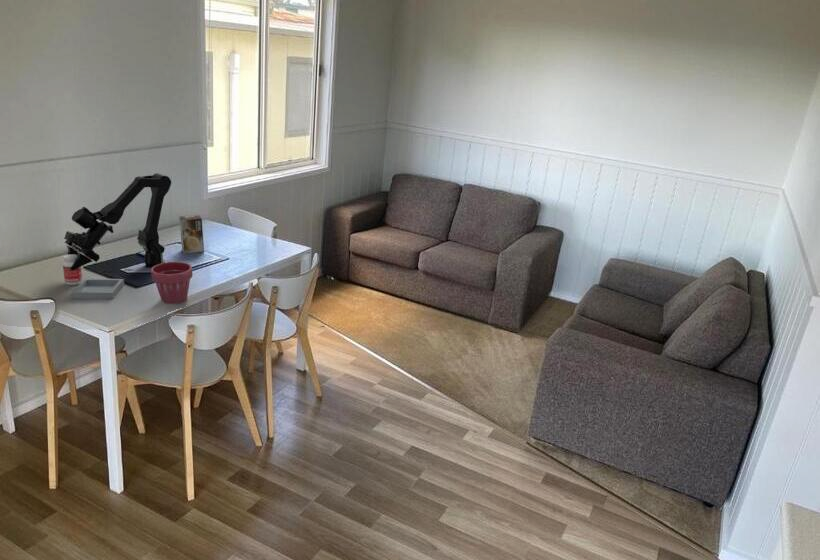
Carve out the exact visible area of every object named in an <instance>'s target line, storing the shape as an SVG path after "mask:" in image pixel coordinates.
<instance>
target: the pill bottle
mask: <svg viewBox="0 0 820 560" xmlns="http://www.w3.org/2000/svg"><path fill="white" fill-rule="evenodd" d="M76 259H77V255H75V254H69V255H67V254H66V255H64V256H63V260H64V261H63V262H62V271H63V277H64V283H65V284H66V285H67V286H75V285H77V286H78V285H79V284H80V283H81V282H82V281H83V280H84V279H83V271H82V266H81V267H79V268H77V269H75V270H71V267H72V265H73V264H74V262H75V260H76Z"/></svg>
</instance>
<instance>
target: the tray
mask: <svg viewBox="0 0 820 560" xmlns="http://www.w3.org/2000/svg"><path fill="white" fill-rule="evenodd" d="M124 286H125V279H124V278H84V279H83V281H82V282H81V283H80V284H77V286H76V287H75V288H74V289H73V290H71V292H70V296H71V299H74V300H75V299H76V300H114V299H115V297H116V296H117V295H118V294H119V292H120V291H121V290H122V288H124Z"/></svg>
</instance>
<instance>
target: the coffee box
mask: <svg viewBox="0 0 820 560" xmlns="http://www.w3.org/2000/svg"><path fill="white" fill-rule="evenodd" d="M178 219H179V229H180V230H179V231H180V242H181V251H182V252H183V254H185V255H186V254H195V253H204V252H205V243H204V231H203V230H204V229H203V218H202V217H201V216H200V215H184V216H183V215H181V216H178Z"/></svg>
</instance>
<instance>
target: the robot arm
mask: <svg viewBox="0 0 820 560" xmlns="http://www.w3.org/2000/svg"><path fill="white" fill-rule="evenodd" d="M171 185H172V179H171V178H170V177H169V176H168V175H164V174H161V173H159V172H156V173H154V174H152V175H151V174H150V175H143V176H140V175H139V176H136V177H135V178H134V180H133V181H131V183H130V184H128V186H127V187H126V188H125V189H124V191H122V192H121V194H119V196H118V197H117V198H116V199H115V200H113V202H110V203H108V204H107V205H104V206H103V208H101V209H100V210H99V211H95V212H92V211H90V209H88V208H87V207H85V206H82V208H80V209H78V210H77V211H74V212H73V214H72V216H71V220H72V221H73V222H74V223H75V224H77V225H78V226H80V227H81V228H82V229H85V230H86V229H88V230H87V231H86V232H84V231H83V232H81V233H80V232H72V231H69V230H67V231H66V232H65V235H64V237H63V238H64V240H65V241H64V243H65V244H66V249H67V254H66V255H69V254H75V255H77V259H76V260H75V262H74V264H73V265H72V267H71V270H75V269H77V268H79V267H81V268H82V267H83V266H85V265H87V264H90V263H93V262H96V263H98V261H100V259H101V258H100V257H101V256H100V254H98V253H97V252H95V251H94V249H95V248H96V246H97V245H100V244H101V242H100V241H101V240H102V238H103V237H104V236H105V235H106V233H108V232H109V233H111V234H113V233H114V228H113V227H114V226H113V225H116V224H117V223H119V222H120V220H121V219H122V217H123V216H124V213H125V210H126V208H127V207H129V205H130V204H131V203H132V202H133V201H134V199H135V198H136V197H138V195H139V194H140V193H141V192H142V191H143V190H144V189H145V188H150V191H151V196H150V197H151V198H150V203H149V207H148V212H147V217H146V221H145V222H146V223H145V225H144V227H143V229H142V230H141V229H140V230H138V235H137V238H136V240H137V243H138V245H139V246H140V247H141V248H143V250H144V252H145V253H144V257H143V258H144V265H145V266H146V267H145V268H152V267H154V266H156V265H158V264H161V263H165V261H164V257H163V255H164V254H163V253H165V249H166V247H165V246H163V245H162V244H160V243H159V242H160V236H159V232H158V228H159V224H160V219H161V213H162V207H163V203H164V199H165V196H166V195H167V194H168V193H169V191H170V188H171ZM108 224H109V225H108ZM163 261H164V262H163Z"/></svg>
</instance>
